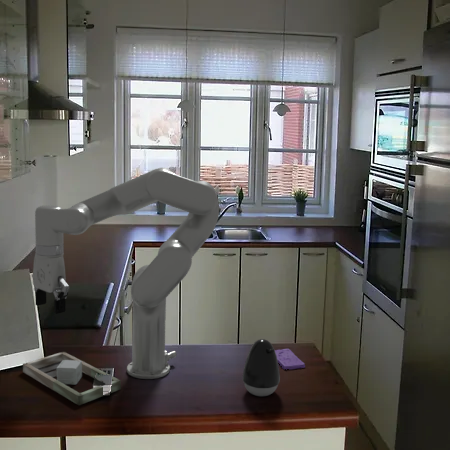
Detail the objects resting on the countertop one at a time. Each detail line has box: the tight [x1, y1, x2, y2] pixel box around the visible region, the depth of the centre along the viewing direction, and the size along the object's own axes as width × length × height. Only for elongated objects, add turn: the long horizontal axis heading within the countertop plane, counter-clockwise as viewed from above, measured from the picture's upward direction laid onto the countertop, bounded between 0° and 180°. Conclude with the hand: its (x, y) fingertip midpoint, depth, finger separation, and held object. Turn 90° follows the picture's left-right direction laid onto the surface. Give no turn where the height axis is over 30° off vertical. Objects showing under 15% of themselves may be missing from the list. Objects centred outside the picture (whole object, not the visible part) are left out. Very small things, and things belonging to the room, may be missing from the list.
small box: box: [56, 360, 83, 386], centre depth 162 cm, size 6×6×5 cm
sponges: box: [274, 348, 306, 371], centre depth 181 cm, size 7×13×2 cm, turn 18°
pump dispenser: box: [242, 338, 281, 397], centre depth 158 cm, size 10×10×15 cm
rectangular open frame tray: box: [22, 351, 122, 406], centre depth 162 cm, size 13×28×2 cm, turn 48°
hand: (50, 308), depth 165 cm, fingers open, 9 cm apart
